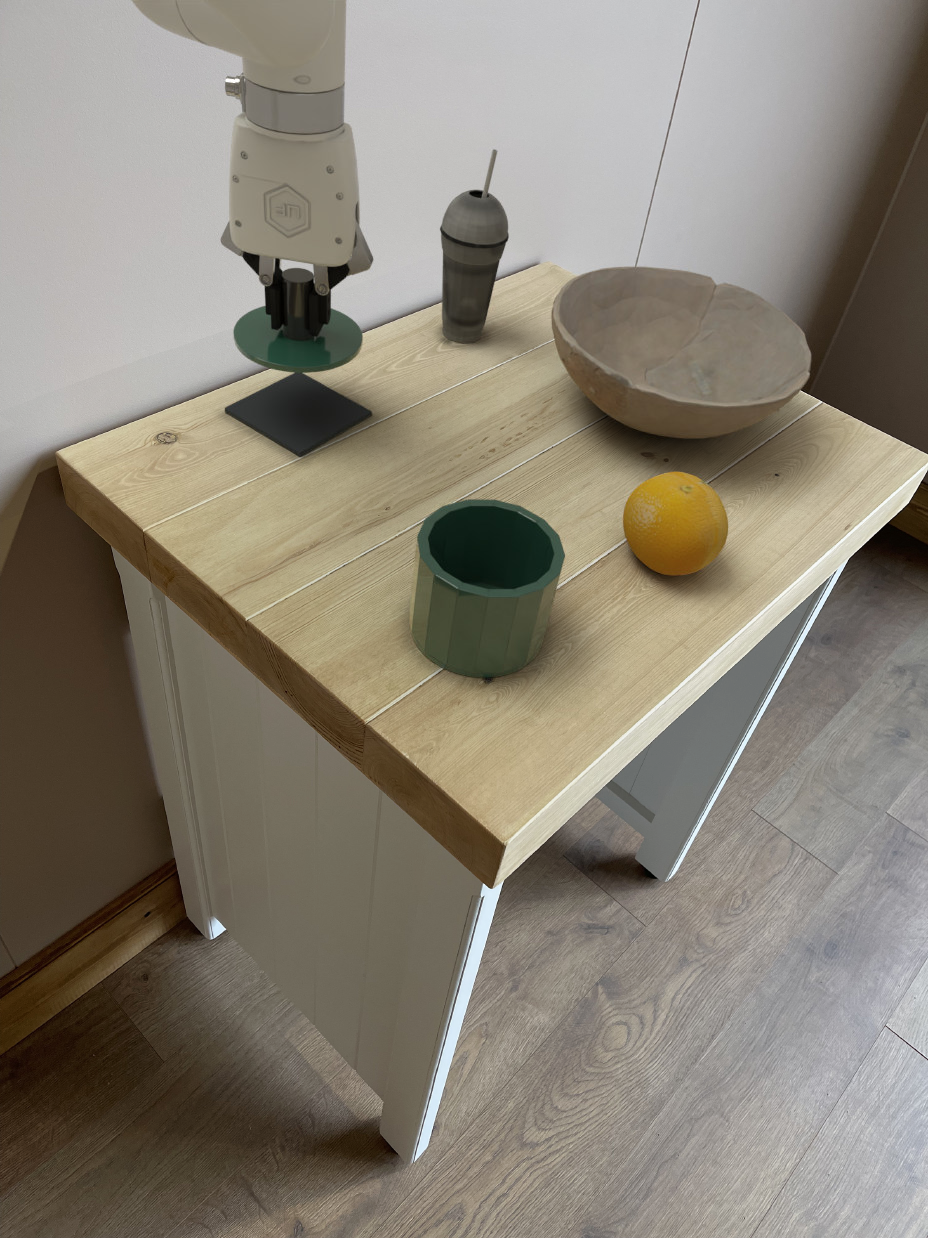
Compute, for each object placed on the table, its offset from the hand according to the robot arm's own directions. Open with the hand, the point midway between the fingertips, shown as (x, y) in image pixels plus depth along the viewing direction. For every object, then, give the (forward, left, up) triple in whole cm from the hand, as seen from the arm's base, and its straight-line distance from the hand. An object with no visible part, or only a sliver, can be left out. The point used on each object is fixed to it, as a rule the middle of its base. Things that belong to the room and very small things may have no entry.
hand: (298, 324), depth 83 cm
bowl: (+25, +28, -10) cm, 39 cm away
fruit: (+37, +7, -10) cm, 39 cm away
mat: (0, 0, -9) cm, 9 cm away
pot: (+30, -11, -9) cm, 33 cm away
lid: (0, 0, -1) cm, 1 cm away
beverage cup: (+1, +25, -10) cm, 27 cm away
